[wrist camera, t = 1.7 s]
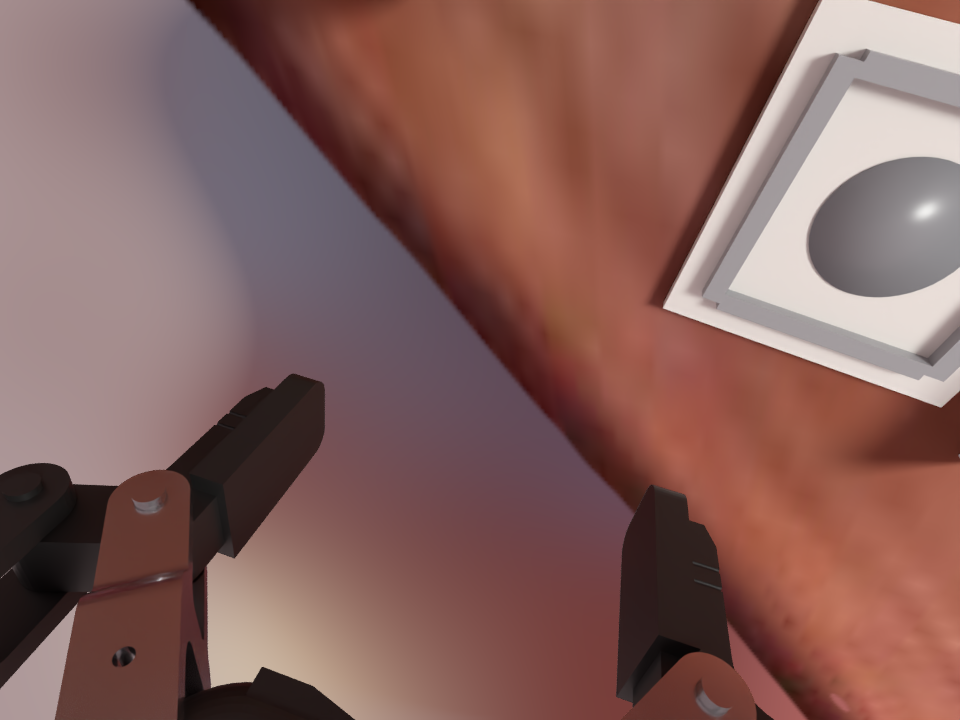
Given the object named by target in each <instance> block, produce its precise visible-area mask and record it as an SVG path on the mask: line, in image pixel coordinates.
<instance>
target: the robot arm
mask: <svg viewBox="0 0 960 720" xmlns="http://www.w3.org/2000/svg"><path fill="white" fill-rule="evenodd" d="M324 429H325V389H324V384H323V383H322V382H320V381H316V380H313V379H310V378H307V377H303V376H300V375H297V374H291V375H289V376H288V377H287V378H286V379H284V381H282V382H281V384H279V385H278V386H277V387H276V388H275V389H274V390H273V389H270V388H267V387H265V388H263V389H261V390H259V391H256V392H254V393H252V394H250V395H248V396H246V397H244V398H243V399H242V400H241V401H240V402H239V403H238V404H237V405H236V406H234V408H232V409H231V410H230V413H229V414H226V415H225V416H224V417H223V418H222V419H221V420H219V421H218V423H217V425H214V426H213V427H212V428H211V429H210V430H209V431H208V432H207V433H205V434H204V435H203V436H202V437H201V438H200V439H199V440H198V441H197V442H196V443H195V444H194V445H193V446H191V447H190V448H189V449H188V450H187V451H186V452H185V453H184V454H183V455H182V456H181V457H180V458H179V459H177V460H176V461H175V462H174V463H173V464H172V465H171V466H170V467H169V468H167V469H166V470H153V471H148V472H144V473H141V474H138V475H136V476H133V477H131V478H129V479H128V480H126V481H124V482H123V483H122V484H120V485H119V486H103V485H78V484H76V485H75V484H72V481H71V479H70V476H69V474H68V472H67V471H66V470H65V469H64V468H62V467H60V466H58V465H55V464H49V463H37V464H36V463H35V464H29V465H25V466H21V467H17V468H14V469H12V470H9V471H7V472H5V473H3V474H1V475H0V578H1V577H2V576H3V575H4V574H5V573H6V572H7V573H6V574H5V575H4V576H3V577H2V578H1V579H0V688H1V687H2V686H3V685H4V684H5V683H6V682H7V681H8V679H9V678H10V677H11V676H12V675H13V674H14V673H15V672H16V671H17V670H18V668H19V667H20V666H21V665H22V664H23V663H24V662H25V661H26V660H27V658H28V657H29V656H30V655H31V654H32V653H33V652H34V651H35V650H36V648H37V647H38V646H39V645H40V644H41V643H42V642H43V641H44V640H45V639H46V637H47V636H48V635H49V634H50V633H51V632H52V631H53V630H54V629H55V627H56V626H57V625H58V624H59V623H60V622H61V621H62V620H63V619H64V617H65V616H66V615H67V614H68V613H69V612H70V611H71V610H72V609H73V608H74V606H75V605H76V604H77V603H78V604H77V608H76V612H75V617H74V622H73V627H72V633H71V638H70V643H69V649H68V653H67V659H66V664H65V670H64V674H63V680H62V685H61V690H60V695H59V701H58V706H57V711H56V716H55V720H355V719H353V718H352V717H351V716H350V715H348V714H347V713H346V712H345V711H343V710H342V709H341V708H340V707H338V706H337V705H336V704H335V703H333V702H332V701H331V700H330V699H328V698H327V697H326V696H325V695H323V694H322V693H321V692H320V691H318V690H317V689H316V688H315V687H313V686H311V685H309V684H306V683H304V682H301V681H298V680H296V679H293V678H290V677H288V676H285V675H283V674H280V673H277V672H275V671H272V670H270V669H267V668H264V667H262V668H261V669H260V671H259V673H258V675H257V676H256V678H255V680H254V681H253V682H242V683H230V684H226V685H220V686H216V687H213V688H211V679H210V668H209V660H208V616H207V615H208V612H207V611H208V609H207V608H208V605H207V604H208V603H207V564H208V563H209V562H210V560H211V559H212V558H213V557H214V556H215V555H216V553H217V552H218V553H221V554H224V555H227V556H229V557H232V558H235V557H236V556H237V554H238V553H239V552H240V551H241V549H242V548H243V547H244V546H245V544H246V543H247V542H248V540H249V539H250V538H251V536H252V535H253V534H254V533H255V531H256V530H257V529H258V527H259V526H260V525H261V523H262V522H263V521H264V520H265V518H266V517H267V516H268V514H269V513H270V512H271V510H272V509H273V508H274V506H275V505H276V504H277V502H278V501H279V500H280V499H281V497H282V496H283V495H284V494H285V492H286V491H287V490H288V488H289V487H290V485H291V484H292V483H293V482H294V481H295V479H296V478H297V477H298V475H299V474H300V473H301V471H302V470H303V469H304V468H305V466H306V465H307V464H308V462H309V461H310V460H311V458H312V457H313V456H314V454H315V453H316V452H317V450H318V448H319V446H320V444H321V441H322V439H323V435H324ZM11 568H12V569H11ZM10 569H11V570H10ZM9 570H10V571H9ZM721 588H722V585H721V578H720V574H719V563H718V556H717V549H716V546H715V544H714V542H713V541H712V539H711V537H710V535H709V533H708V532H707V530H706V528H705V526H704V525H702V524H699V523H696V522H692V521H689V516H688V505H687V498H686V496H685V495H684V494H681V493H678V492H675V491H671V490H668V489H665V488H662V487H658V486H655V485H650V486H649V488H648V489H647V491H646V493H645V495H644V497H643V499H642V501H641V503H640V505H639V507H638V509H637V511H636V513H635V515H634V517H633V519H632V521H631V522H630V524H629V527H628V529H627V532H626V535H625V538H624V543H623V548H622V564H621V590H620V615H619V640H618V665H617V691H616V697H618V698H621V699H623V700H627V701H629V702H632V703H633V708H632V709H631V710H630V711H629V712H628V713H627V714H626V715H625V716H624V717H623V718H622V719H621V720H774V719H772V718H771V717H770V716H769V715H767V714H766V713H765V712H764V711H763V710H761V709H760V708H759V707H758V706H757V705H756V704H755V702H754V699H753V696H752V694H751V692H750V690H749V688H748V686H747V685H746V683H745V681H744V680H743V679H742V677H741V676H740V675H739V674H738V673H737V672H736V671H735V669H734V666H733V662H732V656H731V649H730V642H729V634H728V627H727V620H726V613H725V606H724V599H723V592H721ZM87 592H89V593H87Z"/></svg>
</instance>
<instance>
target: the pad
mask: <svg viewBox="0 0 960 720" xmlns="http://www.w3.org/2000/svg"><path fill="white" fill-rule="evenodd" d="M663 308H664V309H666V310H669V311H672V312H675V313H678V314H680V315H683V316H686V317H689V318H692V319H694V320H697V321H700V322H703V323H706V324H708V325H711V326H714V327H717V328H720V329H722V330H725V331H728V332H731V333H734V334H736V335H739V336H742V337H745V338H748V339H750V340H753V341H756V342H759V343H762V344H764V345H767V346H770V347H773V348H776V349H778V350H781V351H784V352H787V353H790V354H792V355H795V356H798V357H801V358H804V359H807V360H809V361H812V362H815V363H818V364H821V365H823V366H826V367H829V368H832V369H835V370H837V371H840V372H843V373H846V374H849V375H851V376H854V377H857V378H860V379H863V380H865V381H868V382H871V383H874V384H877V385H879V386H882V387H885V388H888V389H891V390H893V391H896V392H899V393H902V394H905V395H907V396H910V397H913V398H916V399H919V400H921V401H924V402H927V403H930V404H933V405H935V406H938V407H943V406H944V405H945V404H946V403H947V402H948V401H949V400H950V399H951V398H952V397H953V396H955V395H956V394H957V393H958V392H959V391H960V24H956V23H952V22H949V21H945V20H941V19H937V18H933V17H930V16H926V15H922V14H918V13H914V12H910V11H907V10H903V9H899V8H895V7H891V6H888V5H884V4H880V3H876V2H872V1H869V0H819V1H818V3H817V5H816V7H815V9H814V11H813V13H812V15H811V17H810V18H809V20H808V22H807V24H806V26H805V28H804V30H803V32H802V34H801V36H800V38H799V40H798V42H797V44H796V46H795V48H794V50H793V52H792V53H791V55H790V57H789V59H788V61H787V63H786V65H785V67H784V69H783V71H782V73H781V75H780V77H779V79H778V81H777V83H776V85H775V87H774V88H773V90H772V92H771V94H770V96H769V98H768V100H767V102H766V104H765V106H764V108H763V110H762V112H761V114H760V116H759V118H758V120H757V122H756V123H755V125H754V127H753V129H752V131H751V133H750V135H749V137H748V139H747V141H746V143H745V145H744V147H743V149H742V151H741V153H740V155H739V157H738V158H737V160H736V162H735V164H734V166H733V168H732V170H731V172H730V174H729V176H728V178H727V180H726V182H725V184H724V186H723V188H722V190H721V192H720V194H719V195H718V197H717V199H716V201H715V203H714V205H713V207H712V209H711V211H710V213H709V215H708V217H707V219H706V221H705V223H704V225H703V227H702V229H701V230H700V232H699V234H698V236H697V238H696V240H695V242H694V244H693V246H692V248H691V250H690V252H689V254H688V256H687V258H686V260H685V262H684V264H683V265H682V267H681V269H680V271H679V273H678V275H677V277H676V279H675V281H674V283H673V285H672V287H671V289H670V291H669V293H668V295H667V297H666V299H665V300H664V304H663Z"/></svg>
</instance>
